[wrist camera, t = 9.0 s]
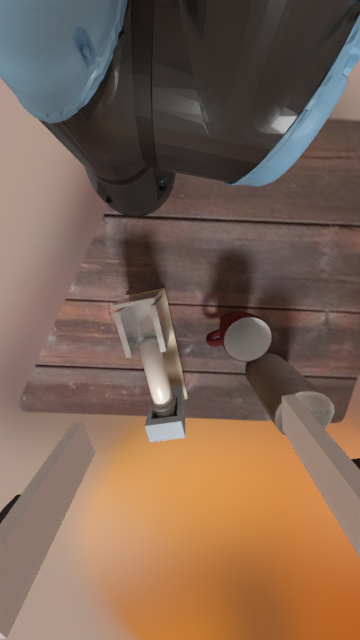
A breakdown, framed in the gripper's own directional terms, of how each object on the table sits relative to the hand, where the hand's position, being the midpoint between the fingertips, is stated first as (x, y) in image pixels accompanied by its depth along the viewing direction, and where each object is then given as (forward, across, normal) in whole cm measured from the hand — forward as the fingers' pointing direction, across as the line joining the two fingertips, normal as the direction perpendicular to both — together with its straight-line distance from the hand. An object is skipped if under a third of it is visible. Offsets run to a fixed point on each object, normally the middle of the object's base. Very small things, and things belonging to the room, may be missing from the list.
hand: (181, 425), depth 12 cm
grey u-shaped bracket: (+28, -7, +1) cm, 28 cm away
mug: (+28, +9, -4) cm, 30 cm away
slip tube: (+23, -7, -11) cm, 27 cm away
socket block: (+27, -7, -19) cm, 34 cm away
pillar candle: (+28, +17, -17) cm, 37 cm away
